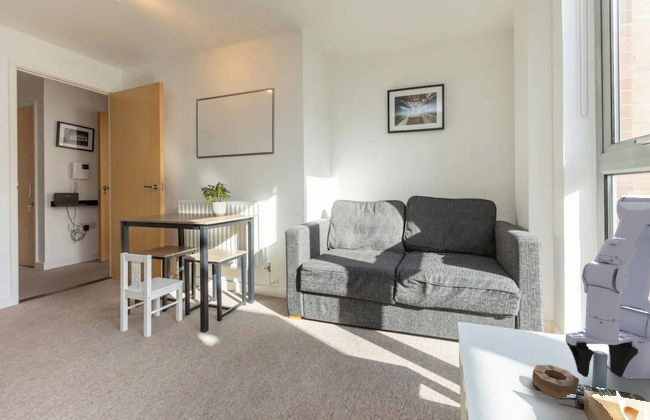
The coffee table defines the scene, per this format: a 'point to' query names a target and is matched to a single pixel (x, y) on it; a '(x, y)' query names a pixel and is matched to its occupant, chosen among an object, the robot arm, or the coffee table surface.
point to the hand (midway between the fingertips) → (599, 374)
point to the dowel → (599, 369)
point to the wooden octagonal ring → (555, 380)
